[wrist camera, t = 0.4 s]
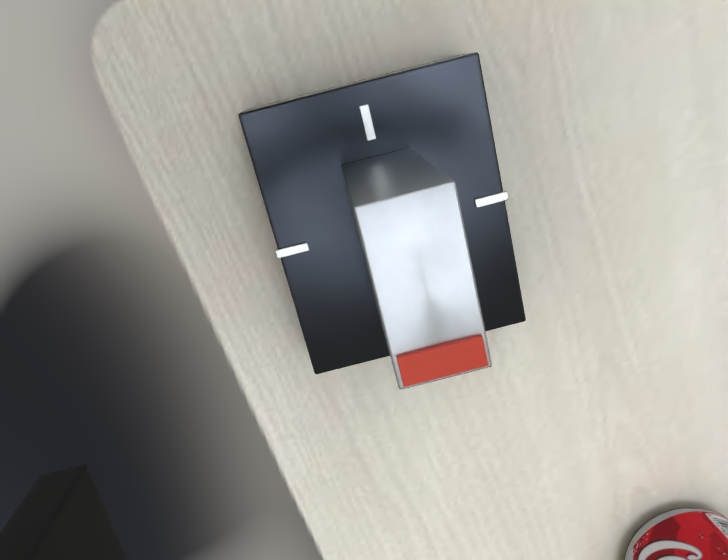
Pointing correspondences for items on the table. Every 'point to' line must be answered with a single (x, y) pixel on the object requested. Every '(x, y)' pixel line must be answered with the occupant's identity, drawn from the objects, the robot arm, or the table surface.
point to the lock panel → (332, 205)
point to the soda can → (681, 537)
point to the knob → (418, 266)
